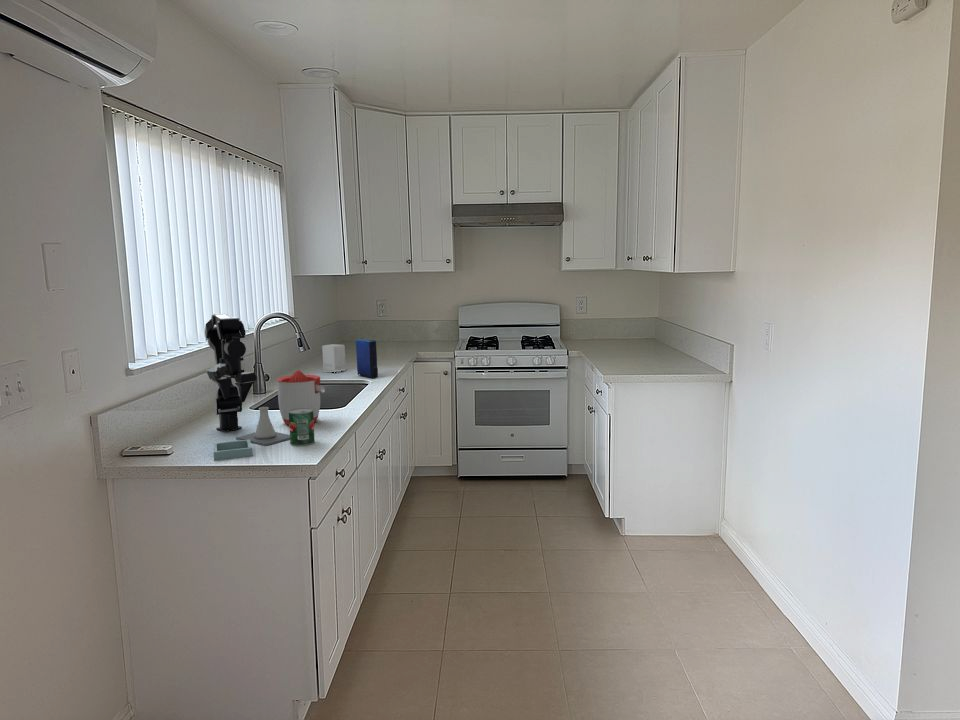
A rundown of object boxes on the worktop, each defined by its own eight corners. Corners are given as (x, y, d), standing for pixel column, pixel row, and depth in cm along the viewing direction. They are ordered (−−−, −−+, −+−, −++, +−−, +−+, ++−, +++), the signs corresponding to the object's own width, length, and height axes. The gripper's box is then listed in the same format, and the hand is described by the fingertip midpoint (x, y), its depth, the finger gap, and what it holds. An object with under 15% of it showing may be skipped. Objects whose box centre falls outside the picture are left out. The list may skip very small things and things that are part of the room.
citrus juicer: (319, 428, 232) (316, 373, 230) (272, 427, 234) (269, 373, 231) (331, 417, 248) (329, 366, 245) (287, 417, 249) (285, 366, 246)
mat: (236, 439, 218) (235, 437, 218) (265, 431, 228) (265, 429, 228) (266, 446, 209) (266, 444, 209) (295, 437, 219) (295, 436, 219)
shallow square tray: (213, 450, 205) (213, 443, 204) (250, 446, 209) (249, 439, 208) (214, 460, 194) (213, 452, 194) (252, 455, 199) (252, 448, 198)
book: (379, 378, 336) (378, 339, 333) (371, 379, 332) (369, 340, 329) (364, 374, 346) (363, 337, 343) (355, 376, 342) (354, 338, 339)
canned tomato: (285, 443, 213) (283, 410, 211) (306, 438, 218) (304, 406, 217) (298, 447, 207) (296, 414, 206) (319, 442, 213) (318, 410, 212)
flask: (253, 435, 221) (251, 406, 219) (275, 433, 223) (273, 404, 222) (254, 440, 214) (253, 411, 213) (277, 438, 217) (275, 409, 215)
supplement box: (346, 371, 358) (345, 344, 356) (334, 373, 351) (333, 346, 349) (334, 370, 363) (333, 343, 361) (322, 372, 356) (321, 345, 353)
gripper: (193, 355, 214) (196, 401, 216) (227, 359, 204) (230, 408, 206) (222, 352, 223) (225, 396, 226) (256, 355, 213) (259, 401, 215)
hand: (234, 400), depth 218 cm, fingers open, 9 cm apart
